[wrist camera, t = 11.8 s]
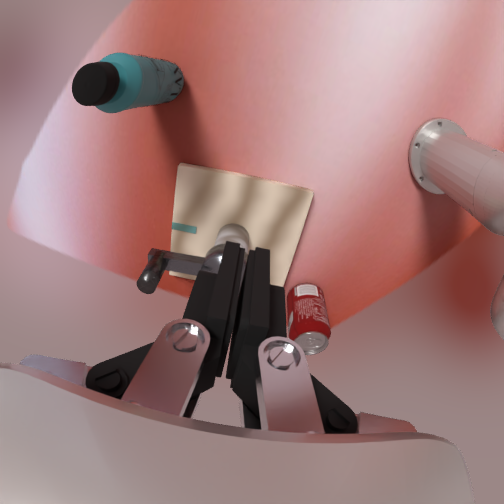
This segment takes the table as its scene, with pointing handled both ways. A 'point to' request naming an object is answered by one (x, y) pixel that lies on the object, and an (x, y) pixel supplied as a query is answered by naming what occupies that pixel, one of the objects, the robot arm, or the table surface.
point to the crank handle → (180, 265)
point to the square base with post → (237, 215)
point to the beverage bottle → (127, 82)
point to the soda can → (308, 318)
